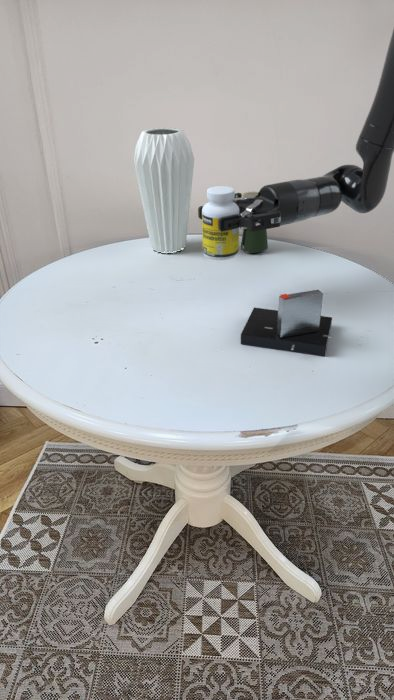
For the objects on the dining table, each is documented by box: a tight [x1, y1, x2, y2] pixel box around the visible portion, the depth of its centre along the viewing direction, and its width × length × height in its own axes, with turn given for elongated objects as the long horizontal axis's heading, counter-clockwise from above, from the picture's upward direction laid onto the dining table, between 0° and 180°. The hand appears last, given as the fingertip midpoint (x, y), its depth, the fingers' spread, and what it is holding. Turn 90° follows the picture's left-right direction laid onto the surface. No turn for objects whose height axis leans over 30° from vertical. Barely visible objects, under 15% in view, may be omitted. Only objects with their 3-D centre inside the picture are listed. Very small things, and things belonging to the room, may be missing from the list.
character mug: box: [240, 190, 269, 254], centre depth 122 cm, size 11×7×13 cm, turn 26°
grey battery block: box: [277, 289, 324, 338], centre depth 87 cm, size 7×2×7 cm, turn 107°
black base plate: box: [240, 306, 333, 357], centre depth 90 cm, size 15×13×2 cm
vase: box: [133, 127, 195, 253], centre depth 120 cm, size 13×13×26 cm
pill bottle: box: [201, 185, 240, 261], centre depth 93 cm, size 6×6×12 cm
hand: (209, 219), depth 91 cm, fingers closed on pill bottle, 6 cm apart
